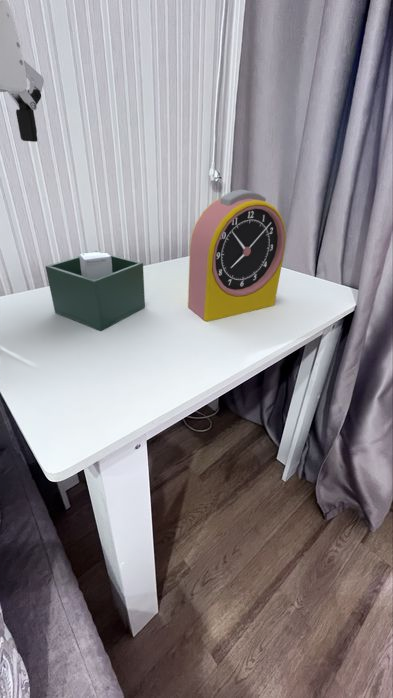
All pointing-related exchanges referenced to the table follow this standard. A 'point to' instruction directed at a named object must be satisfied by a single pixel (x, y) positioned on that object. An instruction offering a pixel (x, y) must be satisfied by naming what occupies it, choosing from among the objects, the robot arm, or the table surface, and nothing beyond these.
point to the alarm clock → (235, 256)
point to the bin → (97, 292)
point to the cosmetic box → (95, 264)
